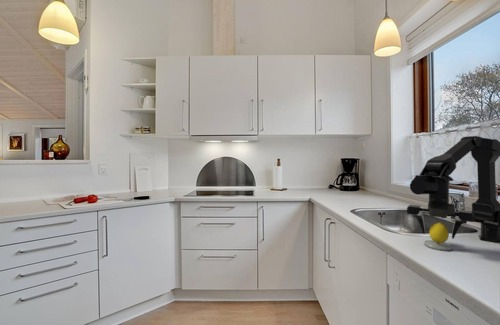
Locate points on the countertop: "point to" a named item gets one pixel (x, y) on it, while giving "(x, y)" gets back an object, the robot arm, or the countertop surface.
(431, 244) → the coaster
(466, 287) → the countertop surface
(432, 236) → the lemon
